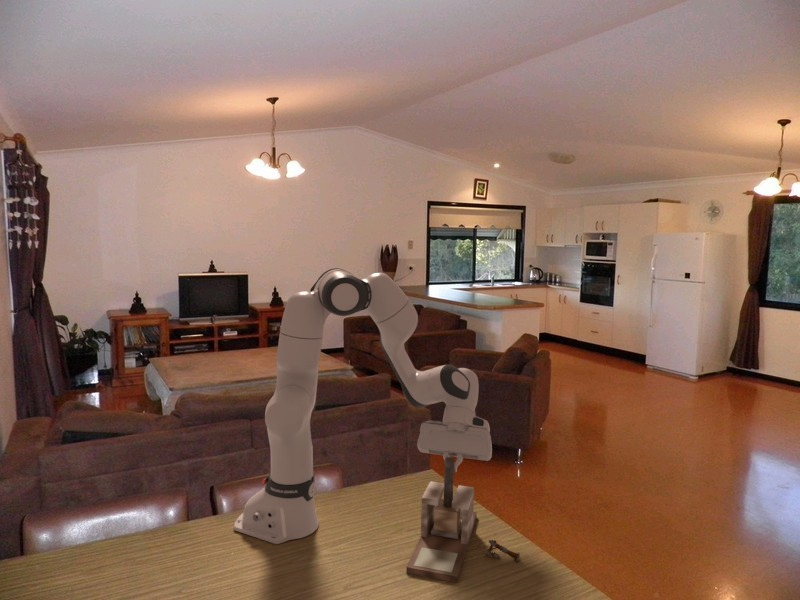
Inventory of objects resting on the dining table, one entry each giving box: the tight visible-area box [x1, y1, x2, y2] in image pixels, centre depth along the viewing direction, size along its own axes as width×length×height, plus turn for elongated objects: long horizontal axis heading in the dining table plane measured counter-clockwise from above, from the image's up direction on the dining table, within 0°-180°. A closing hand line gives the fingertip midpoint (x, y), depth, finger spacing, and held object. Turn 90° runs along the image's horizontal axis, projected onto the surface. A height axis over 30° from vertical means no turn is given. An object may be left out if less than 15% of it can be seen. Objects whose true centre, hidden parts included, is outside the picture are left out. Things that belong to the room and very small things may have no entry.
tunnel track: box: [405, 480, 478, 584], centre depth 143 cm, size 12×31×12 cm, turn 164°
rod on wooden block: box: [431, 457, 462, 539], centre depth 146 cm, size 7×8×19 cm
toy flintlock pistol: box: [485, 539, 521, 563], centre depth 137 cm, size 2×8×4 cm, turn 80°
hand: (450, 470), depth 147 cm, fingers closed
